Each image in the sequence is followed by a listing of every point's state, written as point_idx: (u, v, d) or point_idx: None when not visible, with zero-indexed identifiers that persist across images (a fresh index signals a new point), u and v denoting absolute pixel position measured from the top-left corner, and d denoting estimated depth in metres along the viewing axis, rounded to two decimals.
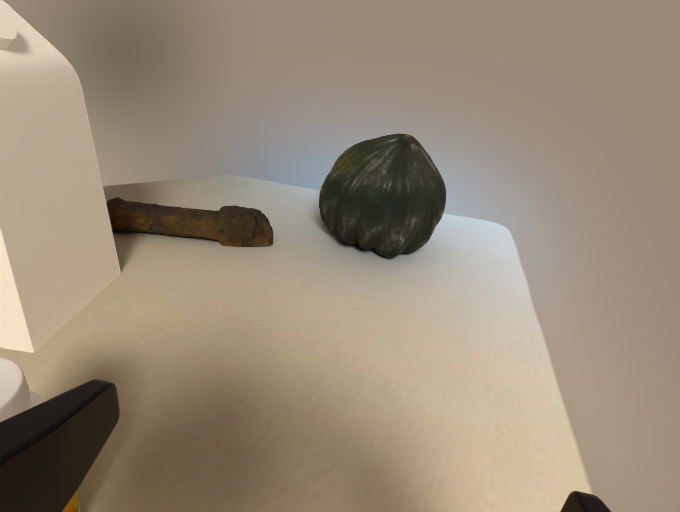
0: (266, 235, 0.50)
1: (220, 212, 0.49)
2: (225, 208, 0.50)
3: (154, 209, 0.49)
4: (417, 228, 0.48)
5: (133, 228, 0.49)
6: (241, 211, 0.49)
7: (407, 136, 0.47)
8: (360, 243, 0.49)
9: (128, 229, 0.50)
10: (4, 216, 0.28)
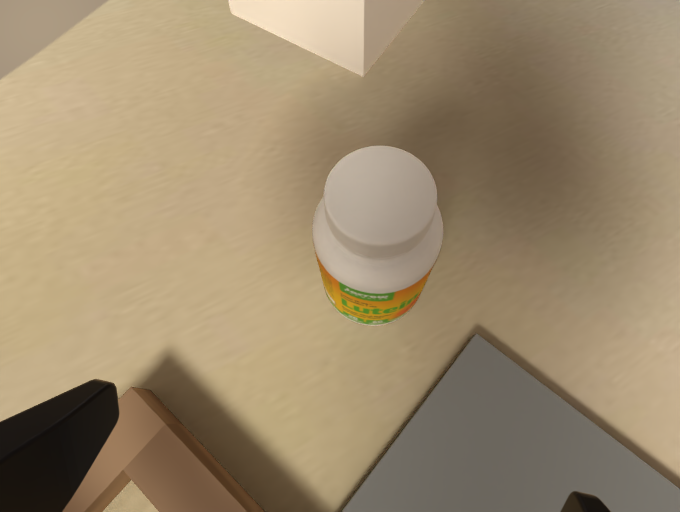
0: None
1: None
2: None
3: None
4: None
5: None
6: None
7: None
8: None
9: None
10: None
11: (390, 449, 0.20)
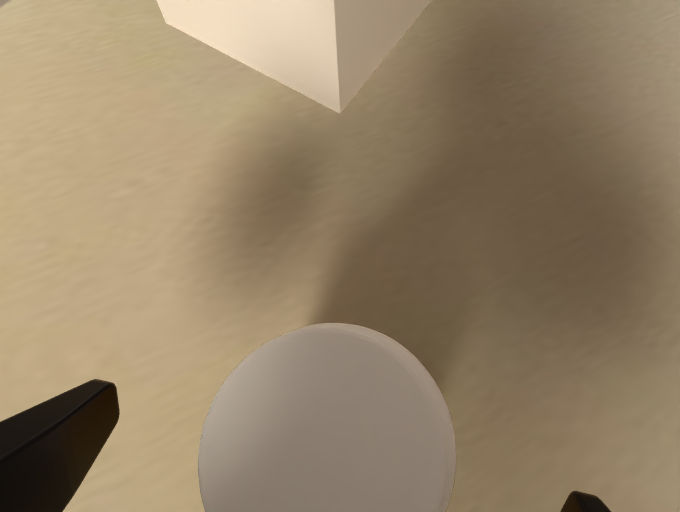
0: None
1: None
2: None
3: None
4: None
5: None
6: None
7: None
8: None
9: None
10: None
11: None
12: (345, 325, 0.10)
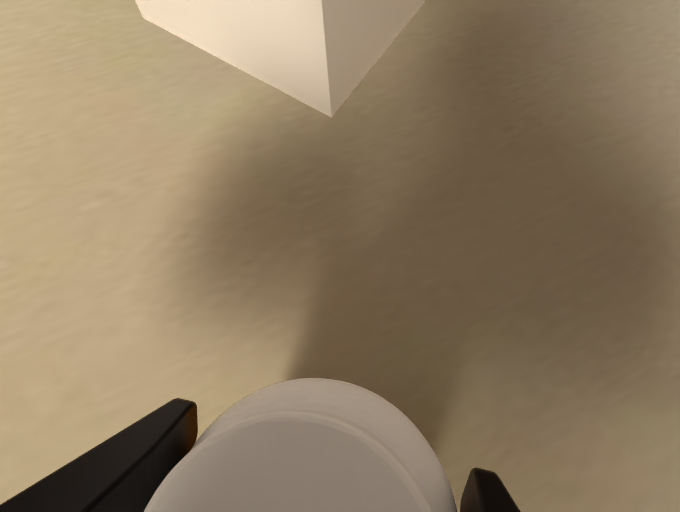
0: None
1: None
2: None
3: None
4: None
5: None
6: None
7: None
8: None
9: None
10: None
11: None
12: (326, 383, 0.08)
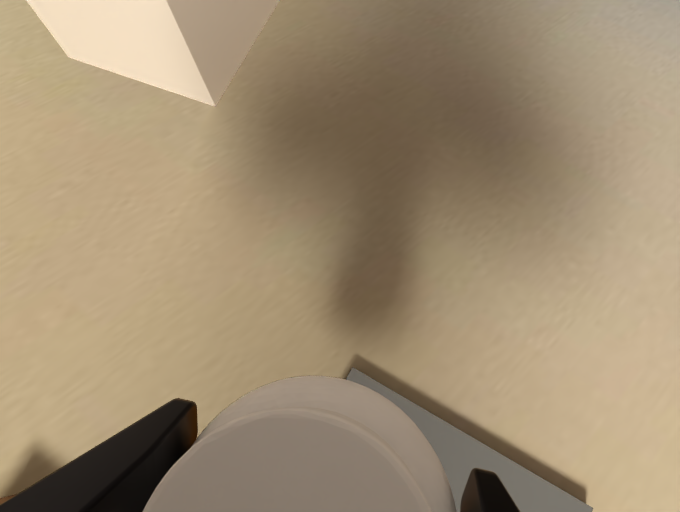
0: None
1: None
2: None
3: None
4: None
5: None
6: None
7: None
8: None
9: None
10: None
11: None
12: (326, 381, 0.08)
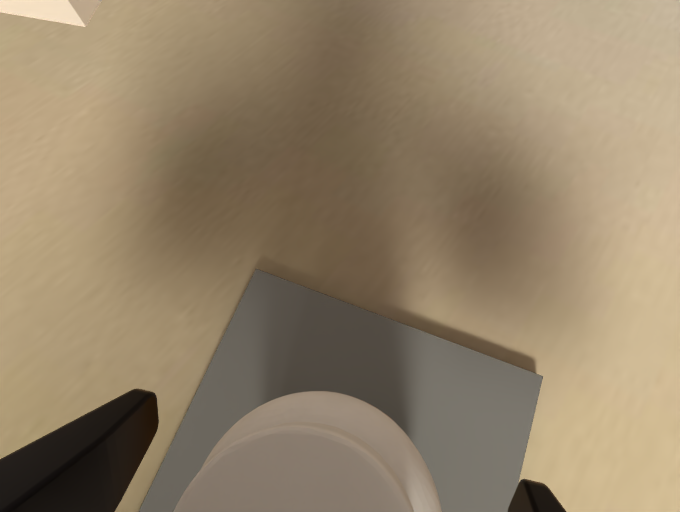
0: None
1: None
2: None
3: None
4: None
5: None
6: None
7: None
8: None
9: None
10: None
11: (174, 439, 0.16)
12: (327, 397, 0.09)
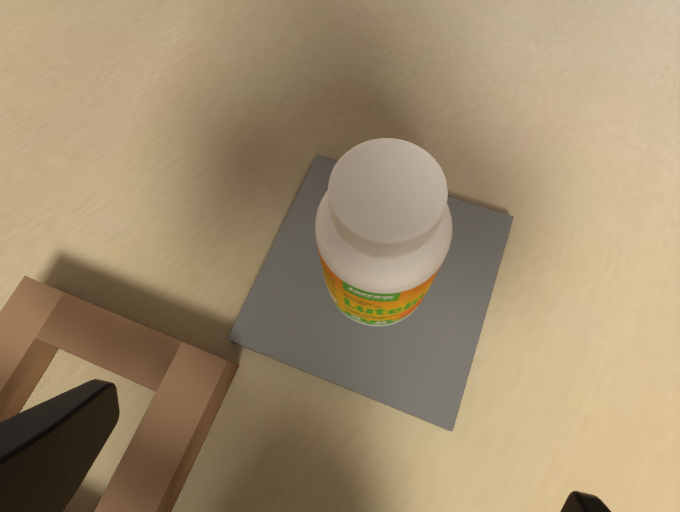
0: None
1: None
2: None
3: None
4: None
5: None
6: None
7: None
8: None
9: None
10: None
11: (267, 257, 0.24)
12: None
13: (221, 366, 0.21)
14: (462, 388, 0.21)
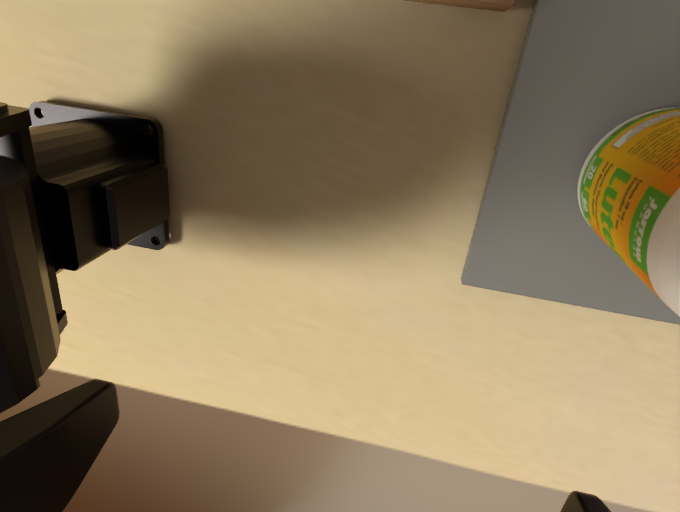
0: None
1: None
2: None
3: None
4: None
5: None
6: None
7: None
8: None
9: None
10: None
11: None
12: None
13: None
14: (507, 290, 0.20)
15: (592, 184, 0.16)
